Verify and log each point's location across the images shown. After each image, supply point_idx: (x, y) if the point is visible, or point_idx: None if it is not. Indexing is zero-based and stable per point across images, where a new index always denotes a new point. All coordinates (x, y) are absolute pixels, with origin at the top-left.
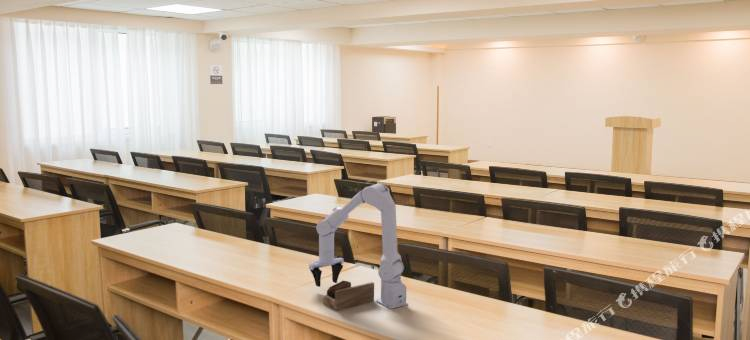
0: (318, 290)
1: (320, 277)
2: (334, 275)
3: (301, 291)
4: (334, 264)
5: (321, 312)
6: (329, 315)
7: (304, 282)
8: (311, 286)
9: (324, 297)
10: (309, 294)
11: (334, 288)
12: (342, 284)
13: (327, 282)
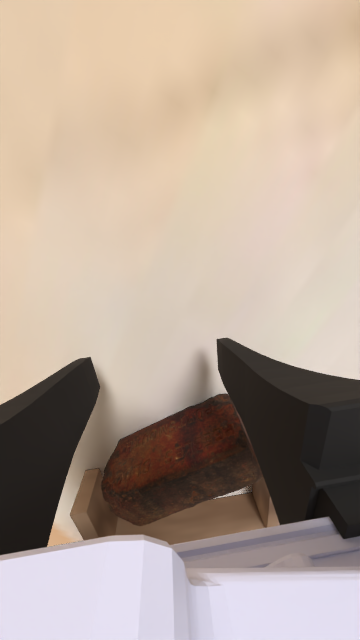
0: (113, 330)
1: (67, 467)
2: (237, 387)
3: (3, 302)
4: (305, 540)
5: (53, 522)
6: (74, 541)
7: (59, 108)
8: (92, 241)
9: (75, 508)
10: (45, 364)
11: (135, 519)
12: (203, 494)
13: (227, 216)
